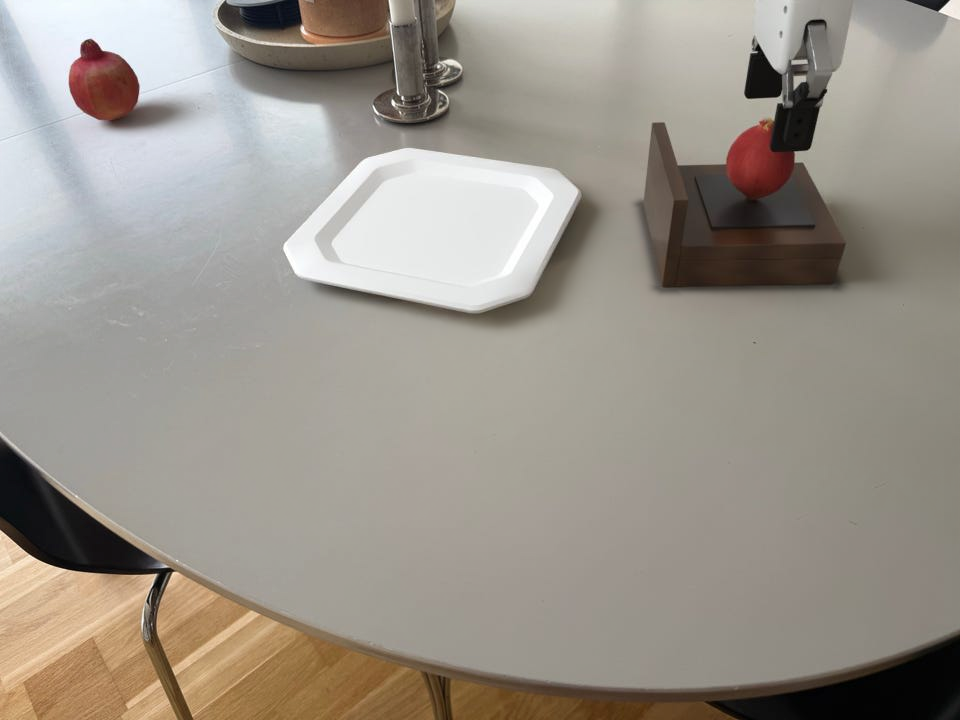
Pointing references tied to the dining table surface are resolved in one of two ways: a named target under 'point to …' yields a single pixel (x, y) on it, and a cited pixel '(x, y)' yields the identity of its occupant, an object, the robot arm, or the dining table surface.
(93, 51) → the fruit
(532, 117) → the dining table surface
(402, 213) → the plate
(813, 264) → the wooden bookend stand
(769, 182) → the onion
